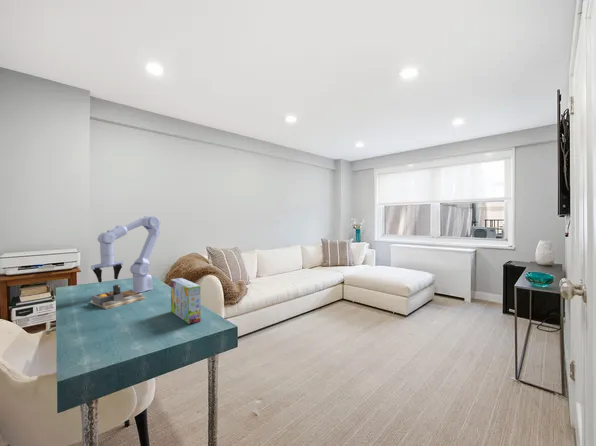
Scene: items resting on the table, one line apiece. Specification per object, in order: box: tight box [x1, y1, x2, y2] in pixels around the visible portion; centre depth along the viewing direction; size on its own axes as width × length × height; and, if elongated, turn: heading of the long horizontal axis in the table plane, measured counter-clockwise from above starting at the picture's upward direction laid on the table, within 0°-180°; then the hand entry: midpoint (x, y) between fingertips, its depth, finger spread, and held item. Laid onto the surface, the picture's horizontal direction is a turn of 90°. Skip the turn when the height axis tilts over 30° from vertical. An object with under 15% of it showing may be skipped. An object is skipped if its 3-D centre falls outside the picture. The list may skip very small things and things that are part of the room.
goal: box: [91, 292, 112, 305], centre depth 140 cm, size 6×9×3 cm
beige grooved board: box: [90, 289, 146, 310], centre depth 145 cm, size 18×18×3 cm
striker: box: [107, 284, 123, 301], centre depth 141 cm, size 4×10×8 cm, turn 56°
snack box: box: [170, 277, 202, 325], centre depth 122 cm, size 21×6×15 cm, turn 43°
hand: (108, 280), depth 149 cm, fingers open, 7 cm apart
